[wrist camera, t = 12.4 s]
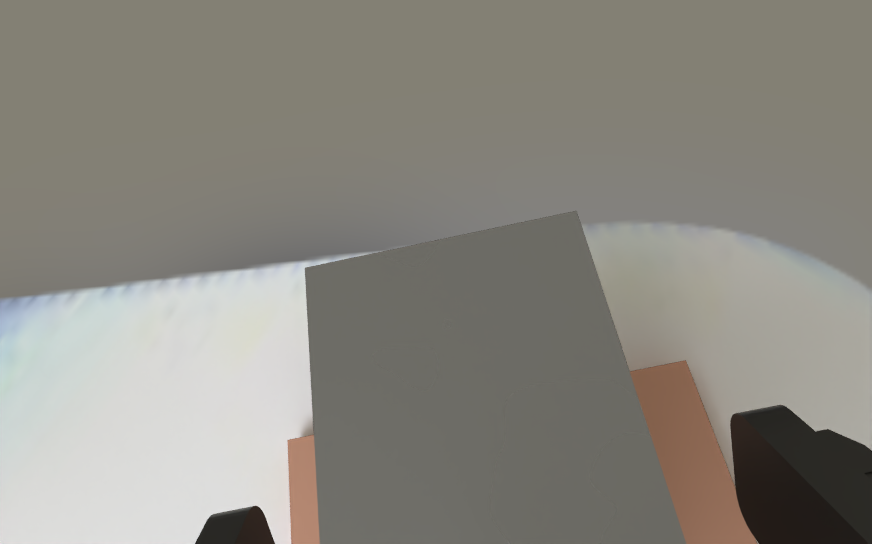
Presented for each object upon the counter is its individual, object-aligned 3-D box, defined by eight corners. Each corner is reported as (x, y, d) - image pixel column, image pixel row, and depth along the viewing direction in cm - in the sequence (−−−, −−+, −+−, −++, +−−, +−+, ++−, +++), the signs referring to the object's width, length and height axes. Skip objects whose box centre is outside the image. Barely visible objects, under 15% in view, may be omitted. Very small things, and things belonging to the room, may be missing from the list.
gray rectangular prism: (459, 709, 14) (339, 916, 5) (419, 427, 17) (305, 267, 9) (625, 681, 14) (786, 846, 5) (553, 401, 17) (576, 210, 8)
